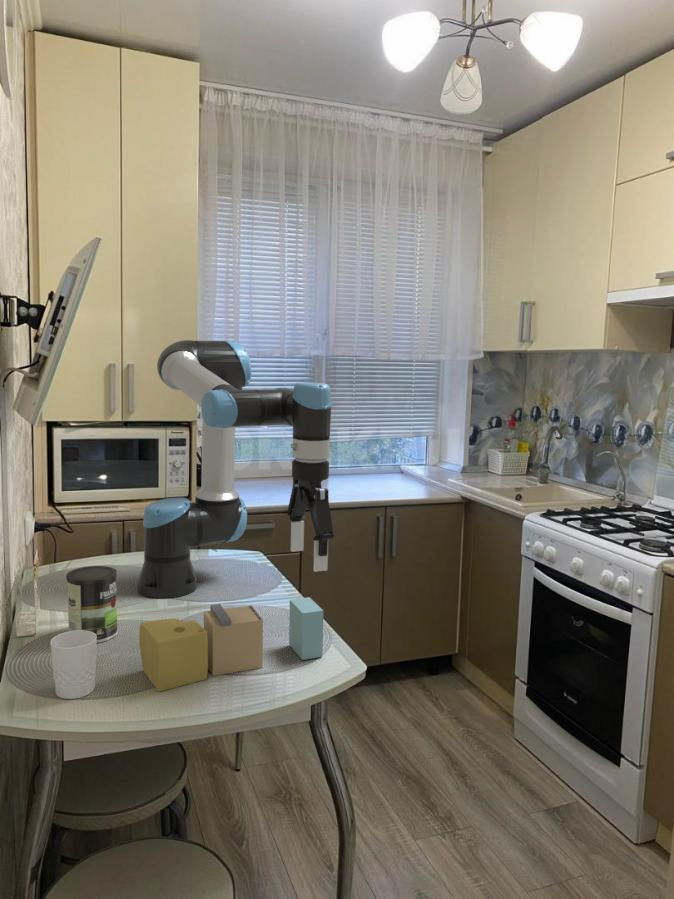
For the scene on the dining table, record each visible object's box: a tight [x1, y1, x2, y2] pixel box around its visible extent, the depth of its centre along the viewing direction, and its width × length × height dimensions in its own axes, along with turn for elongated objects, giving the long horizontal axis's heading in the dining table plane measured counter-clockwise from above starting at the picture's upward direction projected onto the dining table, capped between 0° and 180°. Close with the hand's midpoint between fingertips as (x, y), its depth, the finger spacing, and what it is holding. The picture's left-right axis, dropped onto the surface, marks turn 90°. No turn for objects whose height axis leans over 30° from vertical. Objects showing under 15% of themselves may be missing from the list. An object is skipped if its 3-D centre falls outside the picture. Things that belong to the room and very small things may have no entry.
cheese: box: [138, 617, 209, 692], centre depth 131 cm, size 10×11×10 cm
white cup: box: [50, 630, 98, 700], centre depth 124 cm, size 8×8×10 cm
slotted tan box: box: [203, 603, 264, 677], centre depth 137 cm, size 9×10×11 cm
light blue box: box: [288, 596, 324, 661], centre depth 143 cm, size 8×4×10 cm, turn 23°
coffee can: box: [65, 565, 119, 644], centre depth 148 cm, size 10×10×14 cm
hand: (308, 560), depth 141 cm, fingers open, 13 cm apart
